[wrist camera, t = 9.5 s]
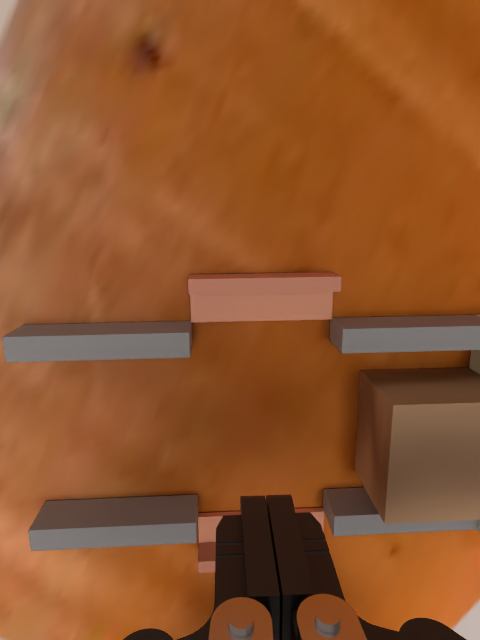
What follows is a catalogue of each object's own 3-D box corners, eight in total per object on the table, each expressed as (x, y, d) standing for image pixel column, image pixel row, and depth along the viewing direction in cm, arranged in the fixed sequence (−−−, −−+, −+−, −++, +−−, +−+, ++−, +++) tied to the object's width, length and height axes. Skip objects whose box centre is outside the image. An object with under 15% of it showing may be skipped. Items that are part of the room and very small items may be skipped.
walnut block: (359, 368, 20) (393, 405, 16) (466, 366, 21) (525, 401, 17) (353, 468, 21) (384, 523, 18) (455, 464, 22) (507, 518, 18)
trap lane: (18, 277, 18) (-5, 284, 16) (479, 269, 19) (509, 275, 17) (52, 556, 21) (36, 590, 19) (449, 536, 22) (472, 567, 21)
